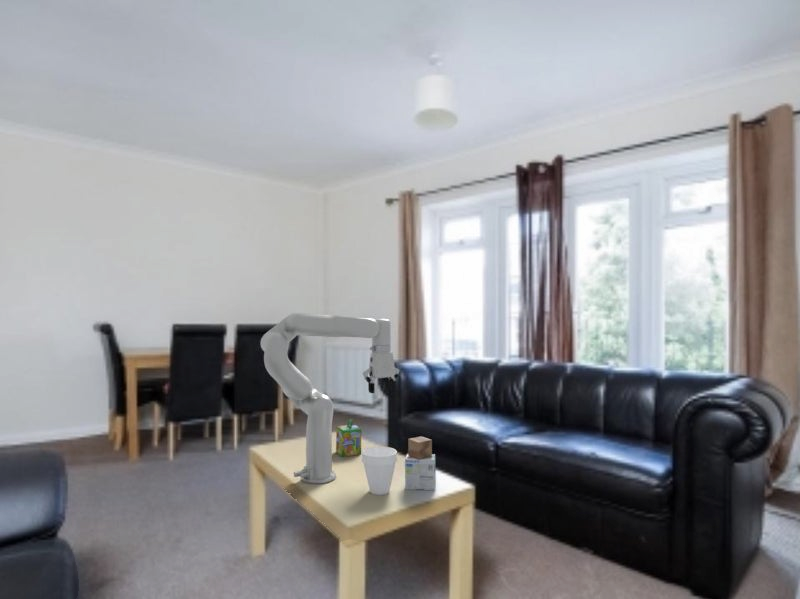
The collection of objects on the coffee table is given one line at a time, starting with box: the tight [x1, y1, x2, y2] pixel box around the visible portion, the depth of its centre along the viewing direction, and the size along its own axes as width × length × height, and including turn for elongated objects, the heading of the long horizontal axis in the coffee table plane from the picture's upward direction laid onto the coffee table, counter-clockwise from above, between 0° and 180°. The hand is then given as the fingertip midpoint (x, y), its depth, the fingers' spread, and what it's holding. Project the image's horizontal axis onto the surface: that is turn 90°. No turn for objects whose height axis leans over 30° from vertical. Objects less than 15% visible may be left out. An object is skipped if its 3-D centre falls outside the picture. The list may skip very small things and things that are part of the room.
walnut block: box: [407, 436, 433, 460], centre depth 166 cm, size 6×6×6 cm
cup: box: [361, 446, 398, 496], centre depth 162 cm, size 12×12×14 cm
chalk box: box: [335, 418, 362, 458], centre depth 207 cm, size 9×9×15 cm
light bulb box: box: [404, 453, 437, 491], centre depth 166 cm, size 11×7×11 cm, turn 84°
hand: (381, 391), depth 188 cm, fingers open, 9 cm apart
